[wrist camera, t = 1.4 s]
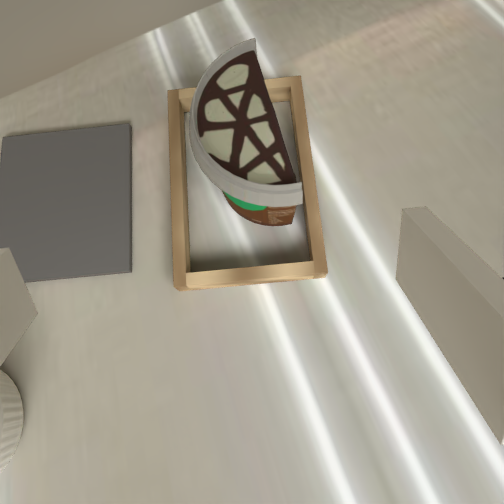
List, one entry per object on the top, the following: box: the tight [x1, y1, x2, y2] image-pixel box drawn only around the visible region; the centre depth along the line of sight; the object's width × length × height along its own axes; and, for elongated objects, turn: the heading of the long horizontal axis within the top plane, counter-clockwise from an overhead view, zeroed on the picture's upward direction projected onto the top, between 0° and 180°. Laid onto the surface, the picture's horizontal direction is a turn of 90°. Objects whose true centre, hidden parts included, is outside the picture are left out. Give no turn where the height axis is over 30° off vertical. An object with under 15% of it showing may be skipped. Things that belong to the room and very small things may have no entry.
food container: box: [189, 38, 303, 226], centre depth 31 cm, size 12×6×10 cm, turn 15°
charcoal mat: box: [0, 124, 132, 283], centre depth 36 cm, size 12×14×1 cm
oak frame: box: [168, 76, 328, 291], centre depth 34 cm, size 12×18×2 cm, turn 5°
